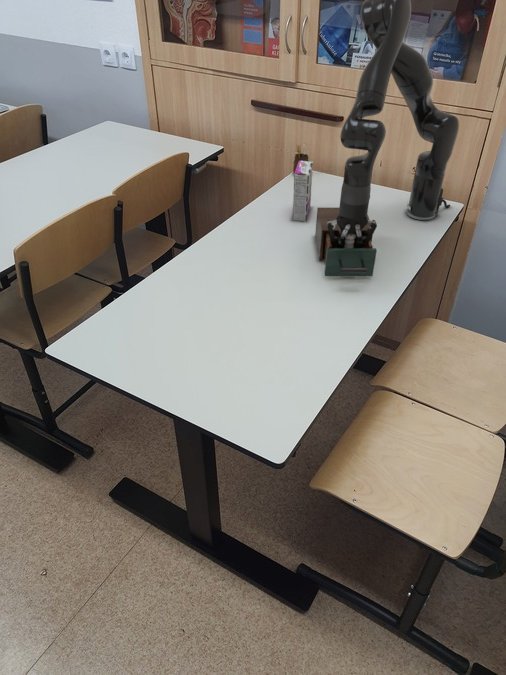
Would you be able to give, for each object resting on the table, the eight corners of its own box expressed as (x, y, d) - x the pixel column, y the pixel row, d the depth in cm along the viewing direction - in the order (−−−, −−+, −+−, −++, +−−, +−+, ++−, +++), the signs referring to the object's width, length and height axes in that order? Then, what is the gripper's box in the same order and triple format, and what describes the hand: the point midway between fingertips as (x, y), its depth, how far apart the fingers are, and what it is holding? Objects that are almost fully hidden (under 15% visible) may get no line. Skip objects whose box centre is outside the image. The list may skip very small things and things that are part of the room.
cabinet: (368, 261, 158) (373, 230, 151) (319, 261, 158) (321, 230, 151) (361, 237, 169) (365, 207, 163) (314, 237, 169) (317, 207, 163)
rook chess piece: (353, 253, 154) (356, 228, 149) (356, 261, 151) (360, 236, 146) (338, 254, 154) (340, 229, 149) (341, 262, 150) (344, 237, 145)
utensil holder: (310, 172, 209) (313, 141, 202) (303, 177, 205) (305, 146, 198) (297, 169, 212) (299, 138, 204) (289, 174, 208) (291, 143, 200)
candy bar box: (296, 206, 186) (298, 159, 176) (310, 207, 185) (313, 161, 175) (291, 220, 178) (293, 173, 167) (306, 222, 177) (309, 174, 166)
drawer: (376, 287, 145) (380, 261, 140) (326, 287, 145) (329, 261, 140) (364, 251, 160) (368, 226, 155) (320, 251, 160) (322, 226, 155)
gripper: (379, 191, 143) (370, 247, 154) (326, 191, 144) (321, 247, 154) (384, 204, 138) (375, 261, 149) (329, 204, 138) (323, 261, 149)
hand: (347, 254), depth 151 cm, fingers closed on rook chess piece, 4 cm apart
